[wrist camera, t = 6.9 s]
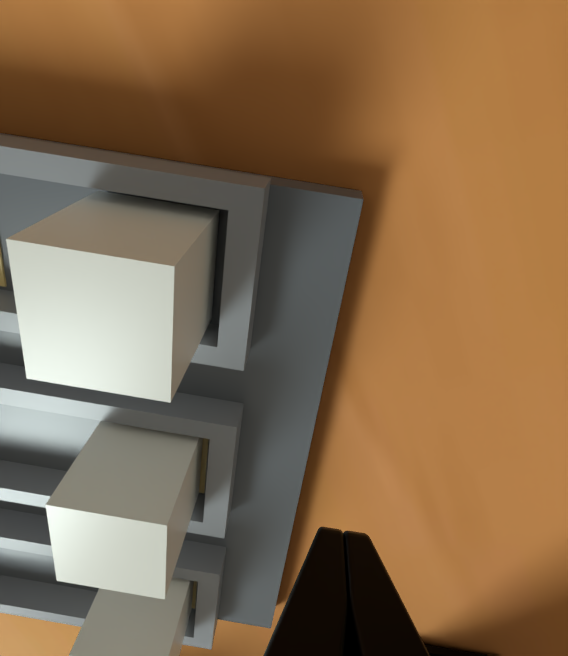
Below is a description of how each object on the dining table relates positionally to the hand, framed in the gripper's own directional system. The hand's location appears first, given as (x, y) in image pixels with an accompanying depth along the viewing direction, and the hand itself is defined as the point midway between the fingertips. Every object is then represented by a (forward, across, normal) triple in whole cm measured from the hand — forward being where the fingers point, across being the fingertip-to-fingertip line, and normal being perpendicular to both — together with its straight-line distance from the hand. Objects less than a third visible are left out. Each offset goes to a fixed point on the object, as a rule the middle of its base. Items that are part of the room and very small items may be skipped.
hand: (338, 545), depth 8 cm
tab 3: (+10, +7, +17) cm, 21 cm away
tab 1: (+10, +6, -1) cm, 12 cm away
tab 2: (+10, +6, +8) cm, 14 cm away
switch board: (+11, +9, +8) cm, 17 cm away
